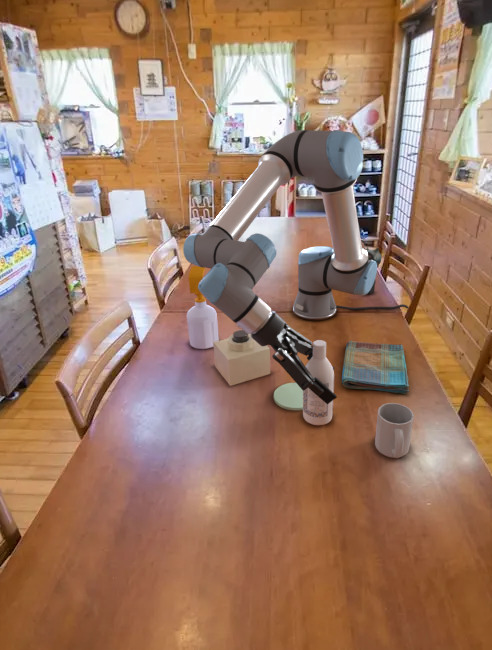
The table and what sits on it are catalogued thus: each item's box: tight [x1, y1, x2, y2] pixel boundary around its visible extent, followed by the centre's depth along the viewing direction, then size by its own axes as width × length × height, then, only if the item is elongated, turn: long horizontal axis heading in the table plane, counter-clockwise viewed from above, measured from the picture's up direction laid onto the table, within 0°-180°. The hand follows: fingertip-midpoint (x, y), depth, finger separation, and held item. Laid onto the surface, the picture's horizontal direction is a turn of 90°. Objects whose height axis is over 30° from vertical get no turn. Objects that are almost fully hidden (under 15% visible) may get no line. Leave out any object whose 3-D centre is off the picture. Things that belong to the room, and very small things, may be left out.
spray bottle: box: [186, 265, 220, 350], centre depth 136 cm, size 9×9×25 cm
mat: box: [273, 382, 303, 412], centre depth 115 cm, size 11×11×1 cm
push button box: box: [213, 334, 271, 387], centre depth 125 cm, size 12×11×10 cm
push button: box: [232, 329, 248, 343], centre depth 122 cm, size 4×4×2 cm
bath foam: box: [302, 339, 335, 426], centre depth 103 cm, size 7×7×20 cm
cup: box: [374, 402, 415, 459], centre depth 95 cm, size 7×10×9 cm
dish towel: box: [341, 340, 410, 395], centre depth 126 cm, size 17×23×2 cm
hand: (331, 385), depth 103 cm, fingers open, 11 cm apart
